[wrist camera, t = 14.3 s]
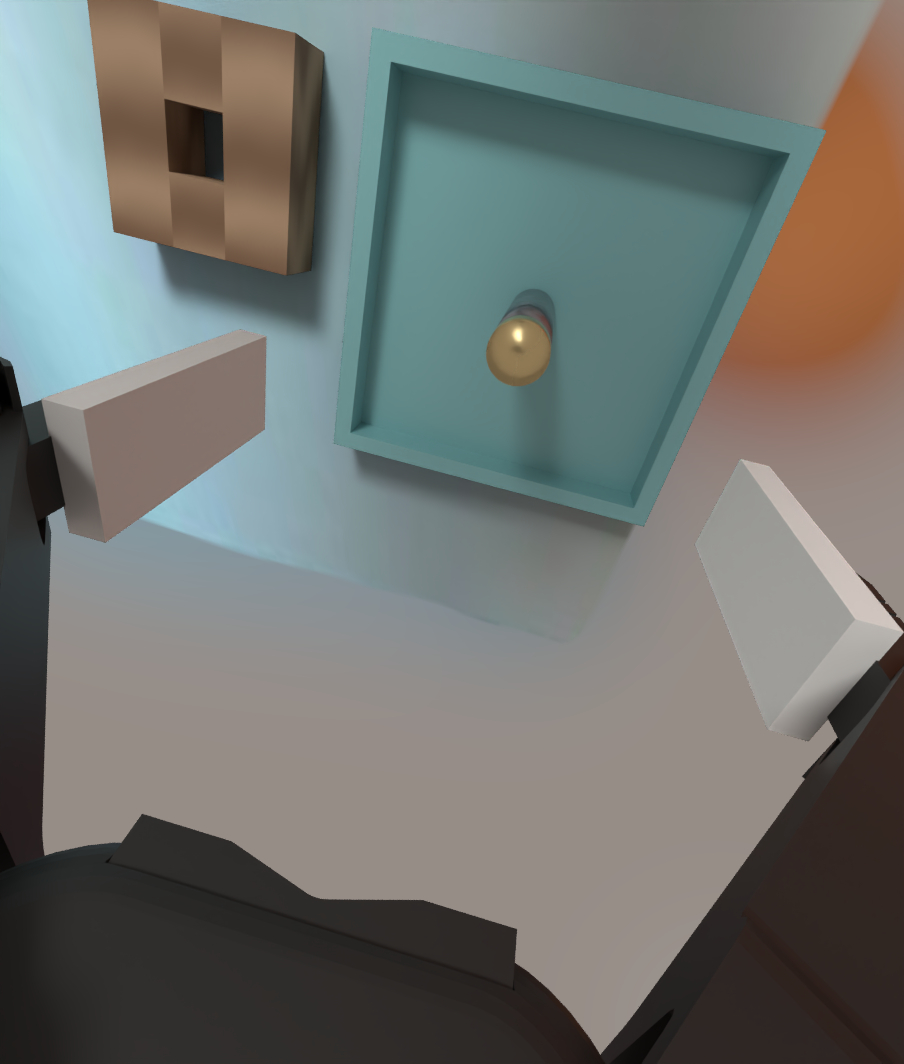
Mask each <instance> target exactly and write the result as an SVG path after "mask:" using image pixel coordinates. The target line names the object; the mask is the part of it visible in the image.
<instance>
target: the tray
mask: <svg viewBox="0 0 904 1064" xmlns="http://www.w3.org/2000/svg"><path fill="white" fill-rule="evenodd" d="M825 133H826V130H822V129H818V128H813V127H809V126H805V125H800V124H796V123H791V122H787V121H783V120H778V119H774V118H769V117H765V116H761V115H756V114H752V113H747V112H743V111H739V110H734V109H730V108H725V107H721V106H717V105H712V104H708V103H703V102H699V101H695V100H690V99H686V98H681V97H677V96H673V95H668V94H664V93H659V92H655V91H650V90H646V89H642V88H637V87H633V86H628V85H624V84H620V83H615V82H611V81H606V80H602V79H598V78H593V77H589V76H584V75H580V74H576V73H571V72H567V71H562V70H558V69H554V68H549V67H545V66H540V65H536V64H532V63H527V62H523V61H518V60H514V59H510V58H505V57H501V56H496V55H492V54H487V53H483V52H479V51H474V50H470V49H465V48H461V47H457V46H452V45H448V44H443V43H439V42H435V41H430V40H426V39H421V38H417V37H413V36H408V35H404V34H399V33H395V32H391V31H386V30H382V29H377V28H373V27H372V36H371V46H370V57H369V68H368V79H367V89H366V100H365V111H364V122H363V132H362V143H361V154H360V165H359V175H358V186H357V197H356V207H355V218H354V229H353V240H352V250H351V261H350V272H349V283H348V293H347V304H346V315H345V326H344V336H343V347H342V358H341V369H340V379H339V390H338V401H337V412H336V422H335V433H334V444H337V445H341V446H344V447H348V448H352V449H356V450H359V451H363V452H367V453H370V454H374V455H378V456H382V457H385V458H389V459H393V460H397V461H400V462H404V463H408V464H412V465H415V466H419V467H423V468H427V469H430V470H434V471H438V472H441V473H445V474H449V475H453V476H456V477H460V478H464V479H468V480H471V481H475V482H479V483H483V484H486V485H490V486H494V487H498V488H501V489H505V490H509V491H512V492H516V493H520V494H524V495H527V496H531V497H535V498H539V499H542V500H546V501H550V502H554V503H557V504H561V505H565V506H569V507H572V508H576V509H580V510H583V511H587V512H591V513H595V514H598V515H602V516H606V517H610V518H613V519H617V520H621V521H625V522H628V523H632V524H636V525H640V526H644V525H645V523H646V520H647V518H648V516H649V514H650V512H651V510H652V508H653V505H654V503H655V501H656V499H657V497H658V495H659V492H660V490H661V488H662V486H663V484H664V482H665V479H666V477H667V475H668V473H669V471H670V469H671V466H672V464H673V462H674V460H675V457H676V456H677V453H678V451H679V449H680V447H681V445H682V443H683V440H684V438H685V436H686V434H687V432H688V430H689V427H690V425H691V423H692V420H693V419H694V416H695V414H696V412H697V410H698V408H699V406H700V404H701V401H702V399H703V397H704V395H705V393H706V390H707V388H708V386H709V384H710V382H711V380H712V378H713V375H714V373H715V371H716V369H717V367H718V364H719V362H720V360H721V358H722V356H723V354H724V352H725V349H726V347H727V345H728V343H729V341H730V339H731V336H732V334H733V332H734V330H735V327H736V325H737V323H738V321H739V319H740V317H741V315H742V312H743V310H744V308H745V306H746V304H747V302H748V299H749V297H750V295H751V293H752V291H753V289H754V286H755V284H756V282H757V280H758V278H759V276H760V273H761V271H762V269H763V267H764V265H765V263H766V260H767V258H768V256H769V254H770V251H771V250H772V247H773V245H774V243H775V241H776V239H777V237H778V234H779V232H780V230H781V228H782V226H783V224H784V221H785V219H786V217H787V215H788V212H789V211H790V208H791V206H792V204H793V202H794V200H795V198H796V195H797V193H798V191H799V189H800V187H801V185H802V182H803V180H804V178H805V176H806V174H807V171H808V169H809V167H810V165H811V163H812V161H813V159H814V156H815V154H816V152H817V150H818V148H819V145H820V143H821V141H822V139H823V137H824V135H825ZM528 289H539V290H542V291H544V292H545V293H547V294H548V295H549V296H550V297H551V299H552V301H553V303H554V307H555V316H554V326H553V335H552V345H551V354H550V361H549V364H548V367H547V369H546V370H545V372H544V373H543V374H542V376H541V377H540V378H539V379H537V380H536V381H534V382H533V383H531V384H528V385H525V386H510V385H507V384H505V383H502V382H501V381H499V380H498V379H497V378H496V377H495V376H494V375H493V374H492V372H491V371H490V369H489V367H488V364H487V360H486V349H487V344H488V341H489V339H490V337H491V336H492V334H493V332H494V331H495V329H496V328H497V326H498V324H499V323H500V321H501V320H502V318H503V316H504V315H505V313H506V312H507V310H508V308H509V307H510V305H511V304H512V302H513V300H514V299H515V298H516V296H517V295H518V294H520V293H521V292H523V291H525V290H528Z"/></svg>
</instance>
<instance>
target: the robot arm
mask: <svg viewBox="0 0 904 1064" xmlns="http://www.w3.org/2000/svg"><path fill="white" fill-rule="evenodd" d="M265 386H266V336H264V335H260V334H256V333H252V332H248V331H245V330H241V329H239V330H237V331H234V332H231V333H228V334H225V335H222V336H220V337H217V338H214V339H211V340H208V341H205V342H202V343H200V344H197V345H194V346H191V347H188V348H185V349H182V350H180V351H177V352H174V353H171V354H168V355H165V356H162V357H160V358H157V359H154V360H151V361H148V362H145V363H142V364H140V365H137V366H134V367H131V368H128V369H125V370H122V371H120V372H117V373H114V374H111V375H108V376H105V377H102V378H100V379H97V380H94V381H91V382H88V383H85V384H82V385H80V386H77V387H74V388H71V389H68V390H65V391H62V392H60V393H57V394H54V395H51V396H48V397H45V398H43V399H41V400H40V401H37V402H34V403H32V404H29V405H26V406H23V407H22V404H21V400H20V396H19V391H18V387H17V383H16V378H15V374H14V370H13V366H12V364H11V362H10V361H8V360H6V359H4V358H2V357H0V1064H904V623H903V622H902V620H901V619H900V618H898V617H896V613H895V612H894V611H893V610H892V608H891V607H890V606H889V605H888V604H885V600H884V599H883V597H882V596H881V595H880V594H879V593H878V591H877V590H876V589H875V588H874V587H873V586H872V585H871V584H870V583H869V582H868V581H866V580H865V579H863V578H862V577H861V576H860V575H858V574H857V573H856V572H855V571H854V570H853V569H852V568H851V567H850V565H849V564H848V563H847V562H846V560H845V559H844V558H843V557H842V555H841V554H840V553H839V552H838V550H837V549H836V548H835V547H834V545H833V544H832V543H831V542H830V541H829V539H828V538H827V537H826V536H825V534H824V533H823V532H822V531H821V529H820V528H819V527H818V526H817V525H816V523H815V522H814V521H813V520H812V518H811V517H810V516H809V515H808V513H807V512H806V511H805V510H804V508H802V506H801V505H800V504H799V502H798V501H797V500H796V499H795V497H794V496H793V495H792V494H791V492H790V491H789V490H788V489H787V488H786V486H785V485H784V484H783V483H782V481H781V480H780V479H779V478H778V476H777V475H776V474H775V473H774V472H773V470H772V469H771V468H770V467H769V466H766V465H763V464H758V463H755V462H751V461H747V460H743V459H740V460H739V462H738V464H737V466H736V468H735V470H734V471H733V473H732V475H731V477H730V479H729V481H728V483H727V485H726V487H725V489H724V490H723V492H722V494H721V496H720V498H719V500H718V501H717V503H716V505H715V507H714V509H713V511H712V513H711V515H710V516H709V518H708V520H707V522H706V524H705V526H704V528H703V530H702V531H701V533H700V535H699V537H698V539H697V541H696V543H695V547H696V549H697V552H698V554H699V557H700V560H701V562H702V565H703V567H704V570H705V572H706V575H707V577H708V580H709V582H710V585H711V588H712V590H713V592H714V595H715V598H716V600H717V603H718V605H719V608H720V611H721V613H722V615H723V618H724V621H725V623H726V626H727V628H728V631H729V634H730V636H731V639H732V641H733V643H734V646H735V649H736V651H737V654H738V656H739V659H740V662H741V664H742V667H743V669H744V672H745V674H746V677H747V679H748V682H749V684H750V687H751V690H752V692H753V694H754V697H755V700H756V702H757V705H758V707H759V710H760V713H761V715H762V718H763V720H764V723H765V725H766V728H767V730H770V731H773V732H777V733H781V734H784V735H787V736H791V737H794V738H798V739H802V740H805V741H809V740H810V739H811V738H812V737H813V736H814V734H815V733H816V732H817V731H818V730H819V729H820V728H821V726H822V725H823V724H824V723H825V722H826V721H827V720H829V721H830V723H831V725H832V727H833V729H834V731H835V733H836V735H837V737H838V738H837V739H836V740H835V741H834V742H833V743H832V744H831V745H830V746H829V748H828V749H827V750H826V751H825V752H824V753H823V754H822V755H821V756H820V758H818V760H817V761H816V762H815V763H814V764H813V765H812V766H811V767H810V768H809V769H808V770H807V772H806V773H805V774H804V775H803V776H802V777H803V778H805V780H804V781H803V782H802V784H801V785H800V787H799V788H798V789H797V791H796V792H795V793H794V795H793V796H792V798H791V799H790V800H789V802H788V803H787V804H786V806H785V807H784V809H783V810H782V811H781V813H780V814H779V815H778V817H777V818H776V820H775V821H774V822H773V824H772V825H771V827H770V828H769V829H768V831H767V832H766V833H765V835H764V836H763V837H762V839H761V840H760V842H759V843H758V844H757V846H756V847H755V848H754V850H753V851H752V853H751V854H750V855H749V857H748V858H747V859H746V861H745V862H744V864H743V865H742V866H741V868H740V869H739V871H738V872H737V873H736V875H735V876H734V878H733V879H732V880H731V882H730V883H729V884H728V886H727V887H726V888H725V890H724V891H723V893H722V894H721V895H720V897H719V898H718V900H717V901H716V902H715V904H714V905H713V907H712V908H711V909H710V910H709V912H708V913H707V915H706V916H705V917H704V919H703V920H702V922H701V923H700V924H699V926H698V927H697V928H696V930H695V931H694V932H693V934H692V935H691V937H690V938H689V939H688V941H687V942H686V943H685V945H684V946H683V948H682V949H681V950H680V952H679V953H678V955H677V956H676V957H675V959H674V960H673V961H672V963H671V964H670V966H669V967H668V968H667V970H666V971H665V972H664V974H663V975H662V977H661V978H660V979H659V981H658V982H657V983H656V985H655V986H654V988H653V989H652V990H651V992H650V993H649V994H648V996H647V997H646V999H645V1000H644V1001H643V1003H642V1004H641V1006H640V1007H639V1008H638V1010H637V1011H636V1012H635V1014H634V1015H633V1016H632V1018H631V1019H630V1020H629V1021H628V1023H627V1024H626V1025H625V1026H624V1028H623V1029H622V1030H621V1031H620V1032H619V1034H618V1035H617V1036H616V1037H615V1038H614V1039H613V1041H612V1042H611V1043H610V1044H609V1045H608V1046H607V1048H606V1049H605V1050H604V1051H603V1052H602V1054H601V1055H600V1054H599V1052H598V1050H597V1049H596V1047H595V1046H594V1044H593V1043H592V1041H591V1039H590V1038H589V1037H588V1035H587V1034H586V1033H585V1032H584V1030H583V1029H582V1027H581V1026H580V1025H579V1023H578V1022H577V1021H576V1020H575V1018H574V1017H573V1015H572V1014H571V1013H570V1012H569V1011H568V1010H567V1008H566V1007H565V1006H564V1005H563V1004H562V1003H561V1002H560V1001H559V1000H558V999H557V998H556V997H555V996H554V995H553V994H552V992H551V991H550V990H549V989H547V988H546V987H545V986H544V985H543V984H542V983H541V982H539V981H538V980H537V979H536V978H535V977H534V976H532V975H531V974H530V973H529V972H528V971H526V970H525V969H523V968H522V967H520V966H519V965H517V964H516V963H515V950H516V934H517V929H515V928H511V927H508V926H505V925H502V924H498V923H495V922H492V921H488V920H485V919H482V918H479V917H476V916H472V915H469V914H466V913H463V912H459V911H456V910H453V909H449V908H446V907H443V906H440V905H436V904H433V903H430V902H427V901H424V900H327V899H319V898H315V897H313V896H311V895H309V894H307V893H306V892H304V891H303V890H301V889H300V888H298V887H297V886H295V885H294V884H292V883H291V882H290V881H288V880H287V879H285V878H284V877H282V876H281V875H279V874H278V873H276V872H275V871H274V870H272V869H271V868H269V867H268V866H266V865H265V864H263V863H262V862H261V861H259V860H258V859H256V858H255V857H253V856H252V855H251V854H249V853H248V852H246V851H245V850H243V849H242V848H240V847H239V846H237V845H236V844H235V843H233V842H231V841H229V840H225V839H222V838H219V837H216V836H212V835H209V834H206V833H203V832H199V831H196V830H193V829H190V828H186V827H183V826H180V825H177V824H173V823H170V822H166V821H163V820H160V819H157V818H154V817H151V816H147V815H144V814H142V815H141V817H140V818H139V819H138V820H137V822H136V823H135V825H134V826H133V828H132V829H131V830H130V832H129V833H128V835H127V836H126V837H125V839H124V840H123V842H122V843H108V844H97V845H88V846H83V847H78V848H74V849H69V850H65V851H60V852H55V853H53V854H49V855H46V856H45V855H44V849H43V838H42V816H43V815H42V814H43V783H44V749H45V716H46V683H47V649H48V616H49V615H48V614H49V582H50V551H51V530H50V526H49V521H48V517H47V516H48V515H50V514H51V513H53V512H55V511H57V510H58V509H60V508H62V507H63V506H64V510H65V515H66V520H67V524H68V529H69V533H73V534H76V535H80V536H84V537H87V538H90V539H94V540H97V541H101V542H105V543H106V542H107V541H108V540H110V539H111V538H112V537H114V536H116V535H117V534H118V533H120V532H121V531H122V530H124V529H125V528H127V527H128V526H130V525H131V524H132V523H134V522H135V521H137V520H138V519H139V518H141V517H142V516H144V515H145V514H146V513H148V512H149V511H151V510H152V509H154V508H155V507H156V506H158V505H159V504H161V503H162V502H163V501H165V500H166V499H168V498H169V497H170V496H172V495H173V494H175V493H176V492H177V491H179V490H180V489H182V488H183V487H184V486H186V485H187V484H189V483H190V482H191V481H193V480H194V479H196V478H197V477H198V476H200V475H201V474H203V473H204V472H206V471H207V470H208V469H210V468H211V467H213V466H214V465H215V464H217V463H218V462H220V461H221V460H222V459H224V458H225V457H227V456H228V455H229V454H231V453H232V452H234V451H235V450H236V449H238V448H239V447H241V446H242V445H243V444H245V443H246V442H248V441H249V440H250V439H252V438H253V437H255V436H256V435H257V434H259V433H260V432H262V431H263V430H265Z"/></svg>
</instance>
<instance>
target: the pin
mask: <svg viewBox="0 0 904 1064" xmlns="http://www.w3.org/2000/svg"><path fill="white" fill-rule="evenodd" d="M554 316H555V307H554V303H553V301H552V299H551V297H550V296H549V295H548V294H547V293H545V292H544V291H542V290H539V289H528V290H525V291H523V292H521V293H520V294H518V295H517V296H516V298H515V299H514V300H513V302H512V304H511V305H510V307H509V308H508V310H507V312H506V313H505V315H504V316H503V318H502V320H501V321H500V323H499V324H498V326H497V328H496V329H495V331H494V332H493V334H492V336H491V337H490V339H489V341H488V344H487V349H486V360H487V364H488V367H489V369H490V371H491V372H492V374H493V375H494V376H495V377H496V378H497V379H498V380H499V381H501V382H502V383H505V384H507V385H510V386H525V385H528V384H531V383H533V382H534V381H536V380H537V379H539V378H540V377H541V376H542V374H543V373H544V372H545V370H546V369H547V367H548V364H549V361H550V354H551V345H552V335H553V326H554Z"/></svg>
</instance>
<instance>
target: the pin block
mask: <svg viewBox="0 0 904 1064" xmlns="http://www.w3.org/2000/svg"><path fill="white" fill-rule="evenodd" d="M87 1H88V10H89V19H90V27H91V36H92V45H93V54H94V63H95V71H96V80H97V89H98V98H99V106H100V115H101V124H102V133H103V142H104V150H105V159H106V168H107V177H108V186H109V194H110V203H111V212H112V221H113V230H114V232H116V233H120V234H124V235H128V236H132V237H136V238H140V239H144V240H148V241H152V242H156V243H160V244H164V245H167V246H171V247H175V248H179V249H183V250H187V251H191V252H195V253H199V254H203V255H207V256H211V257H215V258H219V259H223V260H227V261H231V262H235V263H239V264H243V265H247V266H251V267H255V268H259V269H262V270H266V271H270V272H274V273H278V274H282V275H286V276H287V275H291V274H296V273H301V272H306V271H311V263H312V246H313V229H314V212H315V194H316V177H317V160H318V143H319V126H320V109H321V92H322V75H323V58H324V52H322V51H321V50H319V49H318V48H317V47H315V46H314V45H312V44H311V43H309V42H308V41H306V40H305V39H303V38H302V37H300V36H299V35H298V34H296V33H293V32H289V31H285V30H280V29H276V28H272V27H267V26H263V25H258V24H254V23H250V22H245V21H241V20H237V19H232V18H228V17H224V16H219V15H215V14H210V13H206V12H202V11H197V10H193V9H189V8H184V7H180V6H176V5H171V4H167V3H162V2H158V1H154V0H87ZM203 110H204V111H209V112H213V113H217V114H221V115H223V159H224V180H220V179H216V178H212V177H208V176H206V173H205V143H204V112H203Z"/></svg>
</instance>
